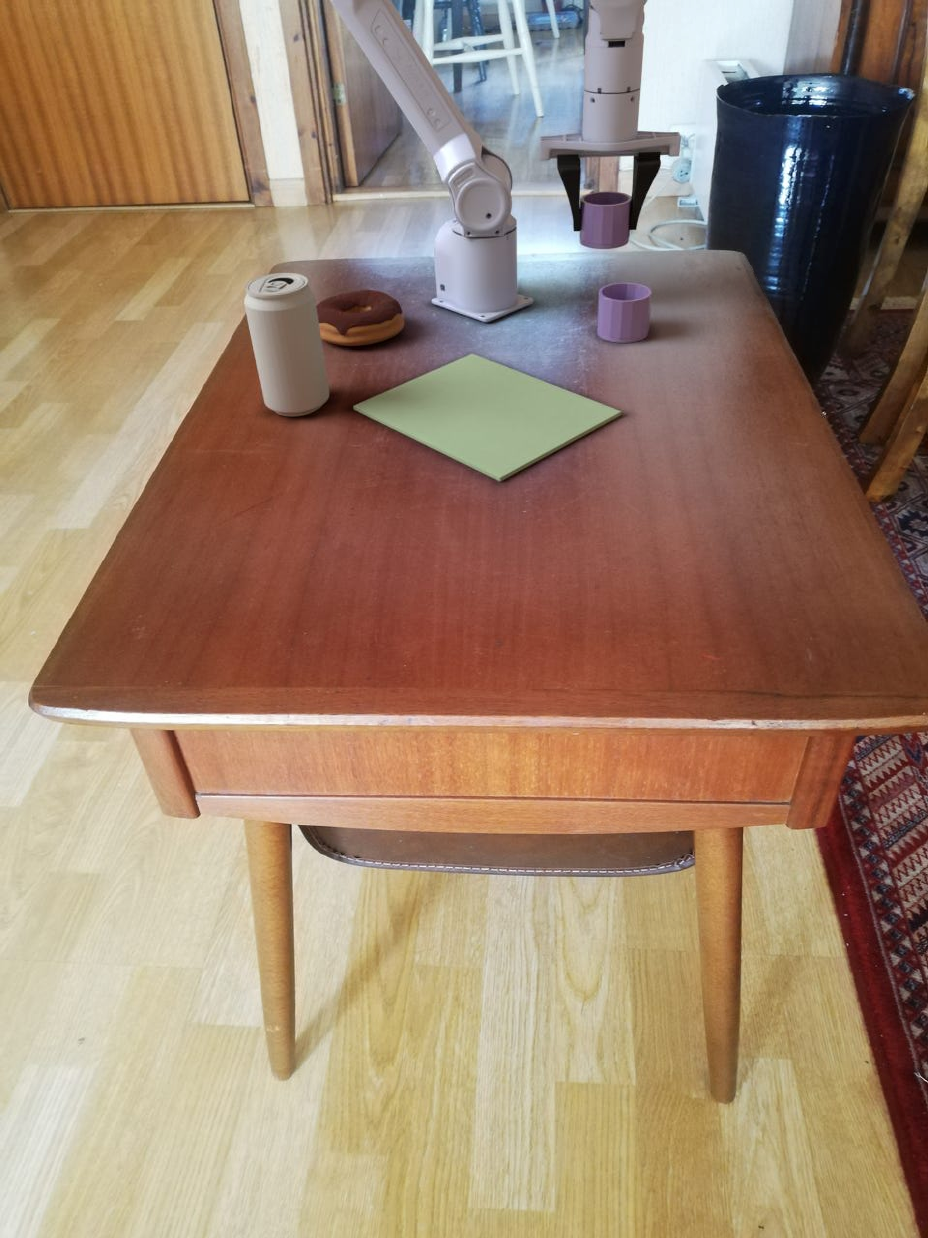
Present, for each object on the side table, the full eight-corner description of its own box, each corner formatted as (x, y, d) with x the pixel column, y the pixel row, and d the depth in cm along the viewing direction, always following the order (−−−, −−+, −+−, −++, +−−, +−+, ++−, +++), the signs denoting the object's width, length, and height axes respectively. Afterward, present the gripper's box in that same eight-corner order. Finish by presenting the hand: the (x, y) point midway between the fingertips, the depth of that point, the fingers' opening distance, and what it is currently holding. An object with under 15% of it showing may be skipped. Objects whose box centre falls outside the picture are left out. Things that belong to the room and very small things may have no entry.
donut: (400, 313, 108) (397, 278, 105) (409, 346, 100) (406, 310, 98) (314, 322, 107) (308, 287, 105) (316, 356, 100) (311, 320, 97)
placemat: (353, 409, 89) (353, 405, 89) (472, 356, 98) (472, 353, 97) (500, 481, 78) (499, 477, 78) (621, 415, 86) (621, 411, 86)
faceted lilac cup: (586, 333, 101) (588, 292, 98) (618, 318, 104) (621, 278, 101) (626, 347, 98) (629, 305, 95) (658, 331, 100) (662, 290, 98)
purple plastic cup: (568, 242, 103) (570, 199, 100) (600, 230, 106) (602, 188, 103) (607, 252, 100) (609, 208, 97) (638, 239, 103) (642, 196, 100)
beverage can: (341, 393, 92) (324, 272, 85) (312, 423, 88) (291, 297, 80) (284, 387, 94) (262, 267, 86) (253, 415, 89) (227, 292, 82)
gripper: (680, 78, 96) (667, 215, 105) (540, 83, 97) (539, 218, 106) (688, 91, 91) (674, 234, 99) (540, 96, 92) (539, 238, 100)
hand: (604, 227), depth 102 cm, fingers closed on purple plastic cup, 5 cm apart
